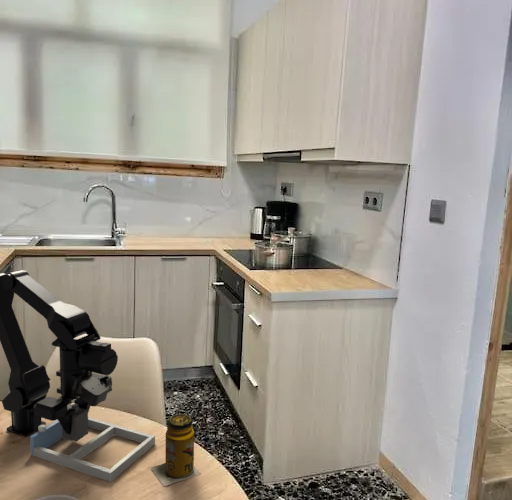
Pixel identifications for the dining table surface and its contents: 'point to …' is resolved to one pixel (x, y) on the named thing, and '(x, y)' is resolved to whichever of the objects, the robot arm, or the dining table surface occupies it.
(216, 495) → the dining table surface
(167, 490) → the dining table surface
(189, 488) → the dining table surface
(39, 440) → the organiser
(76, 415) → the grey cube with knob
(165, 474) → the condiment
